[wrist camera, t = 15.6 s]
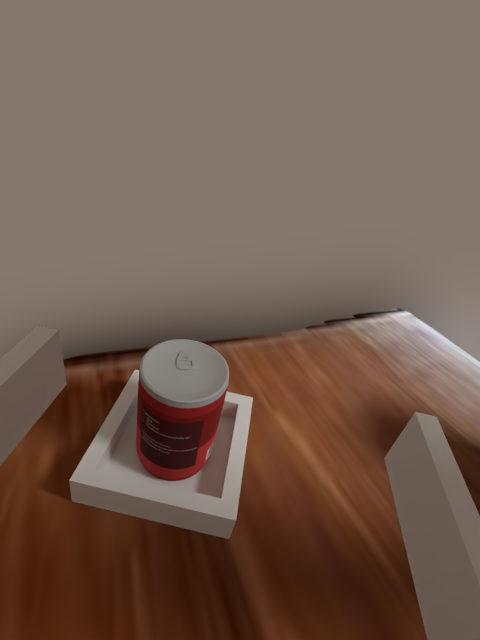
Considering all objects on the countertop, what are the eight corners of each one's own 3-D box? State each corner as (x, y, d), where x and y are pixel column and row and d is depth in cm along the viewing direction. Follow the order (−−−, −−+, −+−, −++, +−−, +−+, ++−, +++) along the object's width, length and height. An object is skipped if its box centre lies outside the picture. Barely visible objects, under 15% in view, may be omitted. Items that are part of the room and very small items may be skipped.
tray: (247, 416, 42) (252, 397, 40) (229, 539, 30) (236, 520, 28) (134, 389, 42) (135, 369, 40) (71, 501, 30) (69, 480, 28)
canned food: (195, 409, 40) (209, 333, 34) (224, 469, 34) (246, 390, 28) (127, 426, 36) (129, 344, 30) (147, 496, 31) (154, 412, 25)
